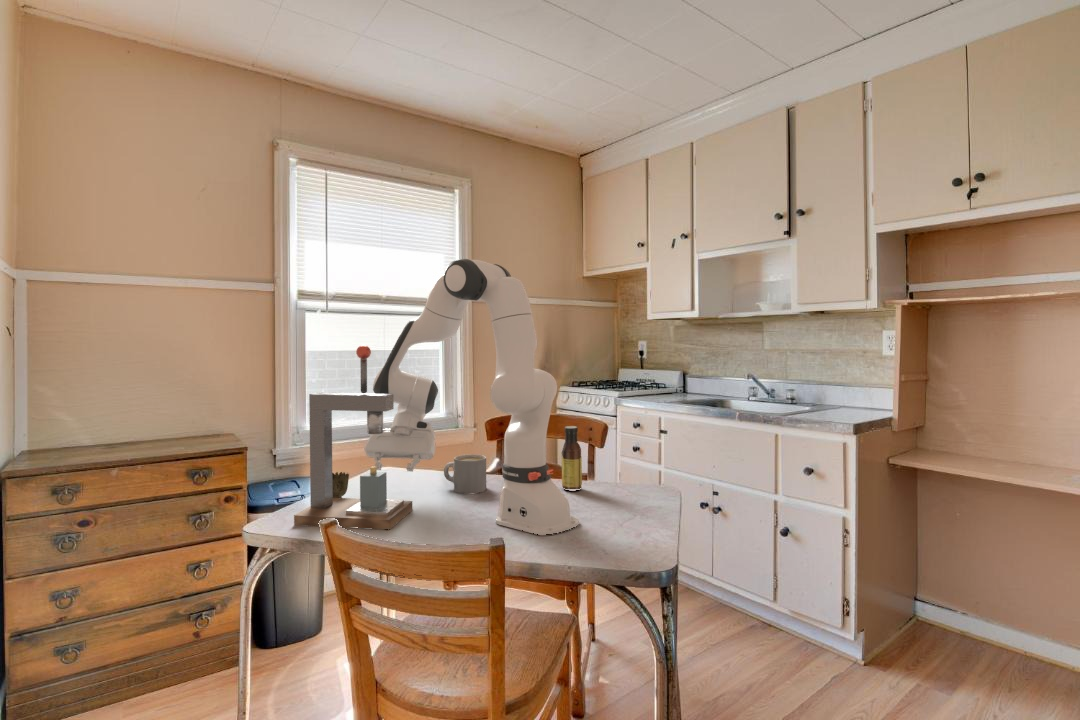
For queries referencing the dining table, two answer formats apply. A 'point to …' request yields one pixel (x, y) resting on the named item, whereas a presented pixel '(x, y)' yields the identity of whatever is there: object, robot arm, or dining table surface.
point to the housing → (373, 488)
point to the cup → (339, 484)
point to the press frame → (322, 438)
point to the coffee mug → (467, 473)
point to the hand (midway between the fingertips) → (393, 469)
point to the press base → (361, 521)
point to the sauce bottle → (571, 460)
